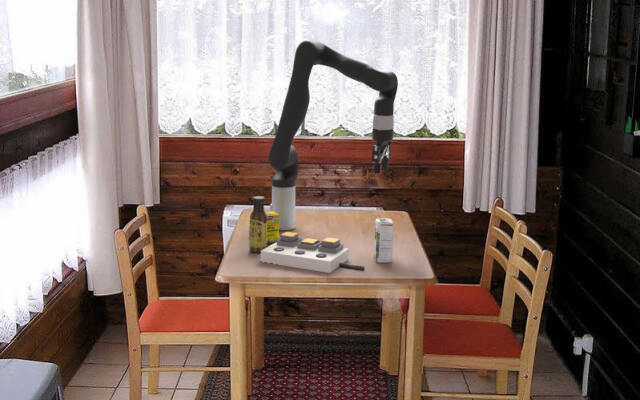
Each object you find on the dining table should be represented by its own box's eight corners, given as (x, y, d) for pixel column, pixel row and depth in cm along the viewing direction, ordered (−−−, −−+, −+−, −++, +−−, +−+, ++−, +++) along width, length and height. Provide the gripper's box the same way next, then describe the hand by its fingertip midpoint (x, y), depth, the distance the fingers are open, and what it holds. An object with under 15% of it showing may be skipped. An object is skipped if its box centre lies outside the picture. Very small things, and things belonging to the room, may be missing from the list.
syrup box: (373, 257, 280) (374, 218, 277) (389, 257, 280) (391, 217, 277) (375, 262, 274) (376, 222, 271) (392, 262, 275) (394, 222, 272)
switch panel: (260, 262, 273) (260, 246, 272) (281, 249, 288) (281, 234, 286) (355, 277, 259) (356, 260, 258) (373, 263, 274) (373, 247, 272)
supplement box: (264, 244, 294) (264, 216, 291) (258, 240, 299) (258, 212, 296) (279, 242, 296) (279, 214, 294) (272, 238, 301) (272, 210, 299)
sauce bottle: (245, 251, 285) (245, 197, 280) (255, 247, 290) (255, 194, 286) (260, 254, 282) (260, 199, 277) (270, 250, 287) (270, 196, 282)
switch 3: (321, 246, 273) (321, 240, 273) (327, 242, 278) (327, 237, 277) (334, 248, 271) (334, 242, 271) (339, 244, 276) (340, 239, 275)
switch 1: (280, 240, 280) (280, 234, 279) (286, 236, 284) (286, 231, 283) (292, 242, 278) (292, 236, 277) (298, 238, 282) (298, 233, 282)
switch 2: (300, 246, 277) (300, 241, 276) (306, 243, 281) (306, 237, 281) (313, 248, 275) (313, 243, 274) (318, 245, 279) (318, 239, 279)
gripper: (379, 123, 295) (377, 166, 299) (366, 128, 283) (364, 173, 286) (399, 125, 292) (396, 168, 296) (386, 130, 280) (384, 175, 284)
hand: (380, 171), depth 291 cm, fingers open, 8 cm apart
